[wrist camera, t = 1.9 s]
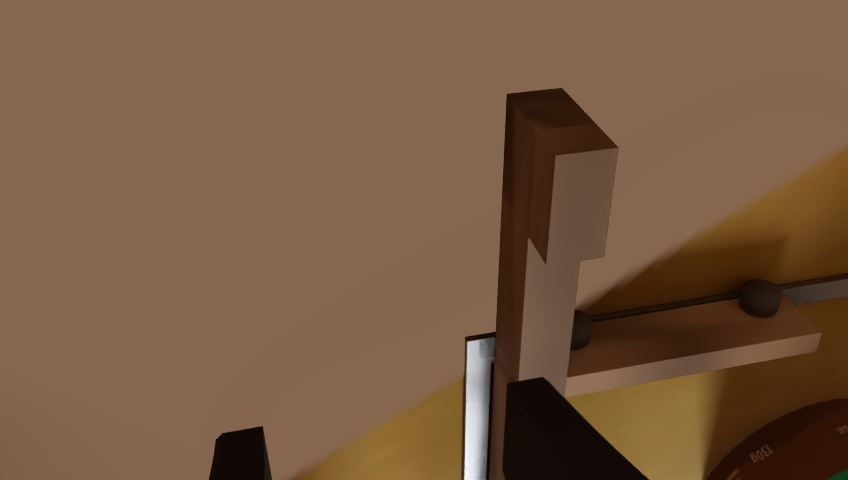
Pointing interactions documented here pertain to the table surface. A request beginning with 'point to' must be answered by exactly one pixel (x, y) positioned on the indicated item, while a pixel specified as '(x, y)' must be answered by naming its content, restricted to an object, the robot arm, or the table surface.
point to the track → (484, 344)
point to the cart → (586, 239)
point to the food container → (793, 447)
